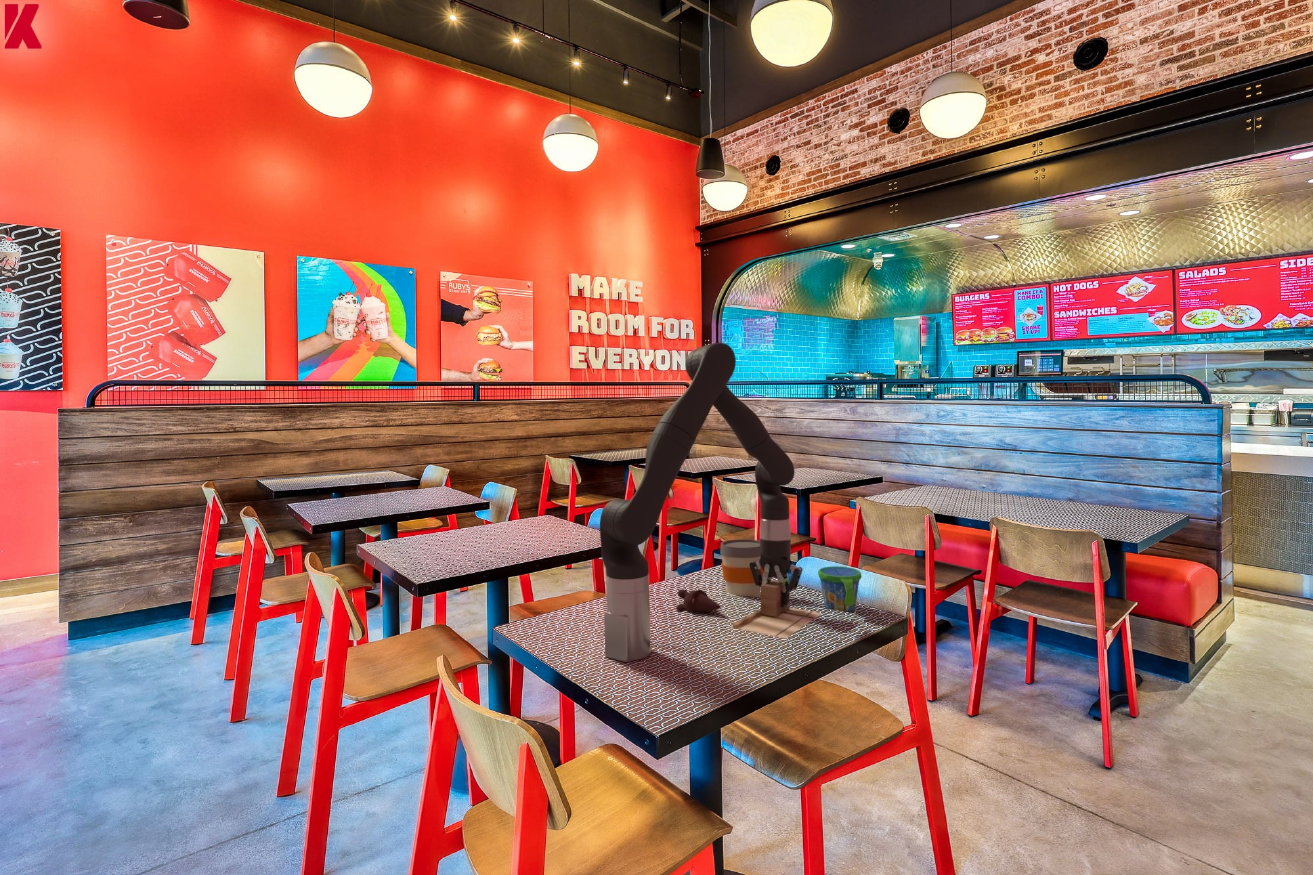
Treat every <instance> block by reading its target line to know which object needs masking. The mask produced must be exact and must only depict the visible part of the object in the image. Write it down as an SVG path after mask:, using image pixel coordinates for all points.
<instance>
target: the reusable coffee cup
mask: <svg viewBox="0 0 1313 875" xmlns="http://www.w3.org/2000/svg"><path fill="white" fill-rule="evenodd" d="M720 555H721V561H722V562H721V563H720V564H721V569H722V577H723V580H724V581H725V588H726V593H728V594H729V595H733V596H741V597H744V596H745V597H747V596H749V597H752V598H753V597H754V598H761V587H760V586H756V585H755V582H754V579H753V575H752V572H751V569H750V565H749V564H750V563H751V562H754V561H759V559H760V557H761V554H760V540H757V539H750V538H749V539H747V538H745V539H744V538H741V539H740V538H739V539H738V538H737V539H727V540H724V541H723V540H722V541H721V542H720ZM760 566H761V565H760ZM760 571H761V574H762V578H763V574H764V570H763V569H762V567H760Z"/></svg>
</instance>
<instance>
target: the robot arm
mask: <svg viewBox="0 0 1313 875" xmlns="http://www.w3.org/2000/svg"><path fill="white" fill-rule="evenodd" d="M736 360H737V359H736V354H735V352H734V350H733V348H732V347H731V346H730V345H728V344H726V343H725V342H724V343H723V342H713V343H709V344H706V345H703V346H700V347H698V348H695V349H693V350H691V351H690V352H689V353H688V355H687V356H686V359H685V371H686V373H687V375H688V378H689V379H690V380H691V383H690V385H688V388H687V389H686V390H685V391H684V393H682V394H681V395H680V397H679V398H678V399H676V400H675V402H674V403H672V405H671V406H670V407H669V408H668V409H667V410H666V411H665V412H664V414H663V415H662V417H661V418H660V419H659V421H658V423H657V424H656V426H655V428H654V430H653V432H652V434H651V436H650V438H649V440H648V442H647V445H646V453H645V466H644V467H645V468H644V472H643V473H644V474H643V477H642V480H641V481H640V483H639V485H638V487H637V489H636V491H635V493H633V496H632V497H631V499H624V498H616V499H612V500H611V501H610V500H609V502H607V503H606V505H605V506H604V508H603V509H602V511H601V514H600V519H599V533H600V534H599V536H600V537H599V538H600V551H601V558H602V563H603V564H604V567H605V576H606V578H605V579H606V580H605V581H606V582H605V583H606V611H605V612H604V613H603V618H604V619H603V620H604V621H603V623H604V624H603V625H604V654H605V655H604V657H606V658H610V659H613V660H616V661H620V662H625V663H628V662H631V661H638V660H641V659H645V658H647V657H649V656H650V655H651V653H652V652H651V650H652V648H651V646H652V645H651V644H652V643H651V642H652V641H651V611H650V610H651V608H650V604H651V603H650V570H649V569H650V566H649V562H648V560H647V558H646V557H645V556H644V555H643V554H642V552H641V550H640V548H639V545H642V544H643V543H645V542H646V541H647V540H648V539H649V538H650V537H651V536H652V534H653V532H654V531H655V528H656V526H657V524H658V521H659V518H660V517H661V516H660V515H661V513H662V510H663V508H664V505H665V503H666V501H667V500H666V499H667V497H668V495H669V493H670V490H671V489H672V487H673V484H674V483H675V481H676V479H677V477H678V474H679V472H680V470H681V469H682V466H683V465H684V463H685V461H686V459H687V457H688V456H689V453H690V451H691V449H692V447H693V446H694V444H695V443H696V440H697V437H698V435H699V434H700V432H701V429H702V428H703V426H704V424H705V421H707V420H706V419H707V418H708V417H709V414H710V411H711V410H712V408H713V407H714V409H716V410H717V412H718V413H719V414H720V416H722V418H723V419H724V421H725V422H726V423H727V425H728V426H729V427H730V428H731V430H732V432H733V434H734V435H735V437H736V438H737V439H738V441H739V442H740V445H741V447H742V448H743V450H744V451H745V452H746V454H747V455H748V456H750V457H751V458H754V459H756V460H757V462H756V465H755V467H754V468H755V469H754V479H755V484H756V488H757V493H758V497H759V500H760V525H759V541H760V554H761V557H760V559H759V561H754V562H751V563H750V564H749V565H750V569H751V572H752V575H753V579H754V582H755V585H756V586H760V587H761V585H763V584H766V583H768V582H771V581H773V580H772V579H773V578H775V579H777V580H778V582H779V584H780V586H781V590H782V592H781V607H786V606H787V605H788V604H789V591H790V592H792V591H794V590H796V589H797V588H798V585H799V581H800V579H801V576H802V573H803V570H804V568H803V567H801V566H799V567H798V566H797V565H794V564H793V562H792V560H791V555H792V554H791V552H792V550H791V545H792V544H791V541H792V540H791V537H792V532H791V522H790V500H789V498H788V496H786V494H783V492H782V489H781V487H782V486H787V485H789V484H790V483H791V482H792V481H793V479H794V477H795V473H796V472H795V467H794V464H793V462H792V459H791V458H790V457H789V455H788V454H787V453H786V452H785V451H784V450H783V448H781V447H780V445H778V443H777V442H776V441H774V440H773V438H772V437H771V435H770V433H769V432H768V430H767V428H766V427H765V425H764V424H763V422H762V420H761V419H760V418H759V416H758V415H757V414H756V413H755V412H754V411H753V410H752V409H751V408H750V407H749V406H748V405H746V404H745V403H744V402H743V401H742V400H741V399H740V398H739V397H737V396H736V395H735V394H734V393H733V391H732V390H731V389H730V388H729V386H728V385H727V384H728V382H729V381H730V379H731V378H732V376H733V375H734V372H735V369H736V364H737V361H736ZM760 565H761V566H760ZM760 567H762V569H763V570H764V574H763V578H762V574H761V571H760ZM789 572H790V573H791V578H790V579H789V575H788V573H789ZM789 580H790V581H789ZM789 582H790V584H789Z"/></svg>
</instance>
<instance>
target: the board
mask: <svg viewBox="0 0 1313 875" xmlns="http://www.w3.org/2000/svg"><path fill="white" fill-rule="evenodd" d="M822 613H823V612H822ZM822 613H821V612H815V611H812V610H811V611H810V610H805V609H798V608H794V607H793V608H792V607H790V610H788V611H786V612H784V613H782V614H780V615H778V616H776V617H774V616H769V615H764V614H761V608H759V609H757V610H755V611H754V612H752V613H750V614H749V615H747V616H745V617H743V618H741V619H740V620H737V621H736V622H734V623H732V625H731V626H730V628H732V629H735V630H742V631H745V632H751V633H757V634H759V635H766V636H771V637H775V638H781V639H785V640H786V639H788V638H789V637H790V636H791V635H793V634H794V633H796V632H797V631H799V630H800V629H802V628H803V627H805V626H806V625H808V624H809V623H810V622H812V621H813V620H815V619H817V618H818V617H819V616H820V615H822Z"/></svg>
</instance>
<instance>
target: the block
mask: <svg viewBox="0 0 1313 875" xmlns="http://www.w3.org/2000/svg"><path fill="white" fill-rule="evenodd" d="M789 584H790V581H789ZM781 592H782V590H781V586H780V584H779V582H778V579H773V580H771V582H768V583H766V584H763V585H761V589H760V609H761V614H764V615H769V616H774V617H776V616H778V615H780V614H782V613H784V612H786V611H788V610H790V608H791V607H790V606H791V604H790V603H791V602H790V600H791V593H790V592H791V591H789V604H788V605H787V606H786V607H781Z"/></svg>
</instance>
